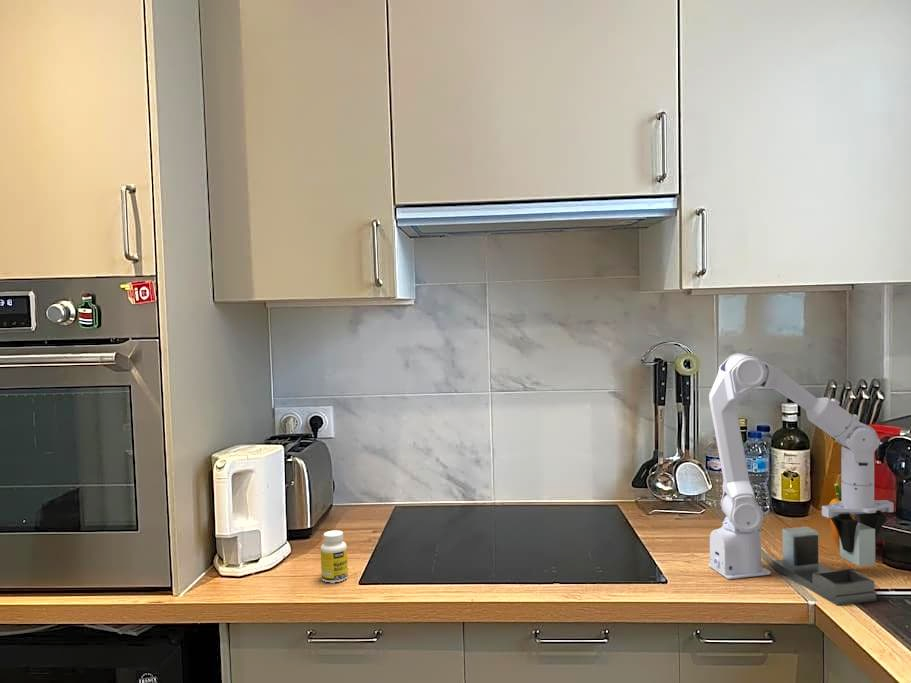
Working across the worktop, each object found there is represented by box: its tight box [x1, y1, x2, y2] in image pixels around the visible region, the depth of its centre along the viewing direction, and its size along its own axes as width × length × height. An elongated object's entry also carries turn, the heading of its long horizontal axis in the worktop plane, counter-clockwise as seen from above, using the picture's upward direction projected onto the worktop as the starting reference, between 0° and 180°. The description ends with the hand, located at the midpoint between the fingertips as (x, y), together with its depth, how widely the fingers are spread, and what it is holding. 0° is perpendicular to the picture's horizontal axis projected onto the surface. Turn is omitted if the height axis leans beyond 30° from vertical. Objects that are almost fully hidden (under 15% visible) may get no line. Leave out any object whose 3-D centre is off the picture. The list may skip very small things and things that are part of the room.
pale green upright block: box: [839, 521, 877, 567], centre depth 144 cm, size 4×6×7 cm
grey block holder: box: [772, 526, 877, 606], centre depth 139 cm, size 8×19×8 cm, turn 10°
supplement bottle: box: [320, 529, 349, 584], centre depth 151 cm, size 5×5×10 cm
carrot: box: [828, 483, 856, 550], centre depth 156 cm, size 5×5×15 cm
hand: (857, 549), depth 144 cm, fingers closed on pale green upright block, 4 cm apart
